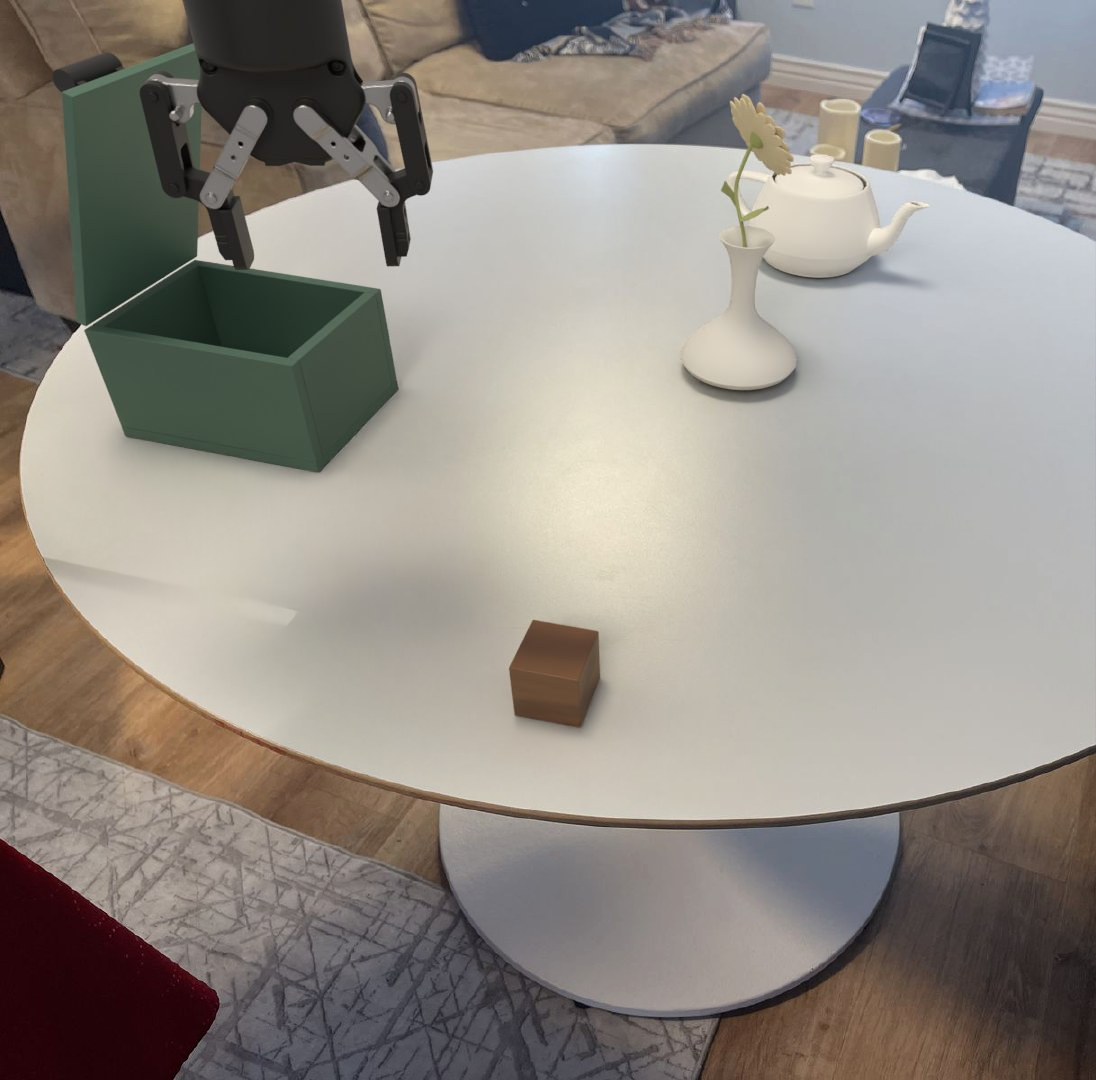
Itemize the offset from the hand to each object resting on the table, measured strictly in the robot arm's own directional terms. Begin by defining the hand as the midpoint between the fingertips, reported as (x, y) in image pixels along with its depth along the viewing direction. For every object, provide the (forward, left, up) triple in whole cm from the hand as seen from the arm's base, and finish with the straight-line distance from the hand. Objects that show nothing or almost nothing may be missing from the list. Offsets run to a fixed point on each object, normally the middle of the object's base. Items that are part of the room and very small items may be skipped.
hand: (320, 263), depth 60 cm
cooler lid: (+11, +27, -4) cm, 29 cm away
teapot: (+67, -11, -23) cm, 72 cm away
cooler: (+12, +22, -23) cm, 34 cm away
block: (-6, -18, -23) cm, 30 cm away
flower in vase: (+39, -12, -23) cm, 47 cm away
